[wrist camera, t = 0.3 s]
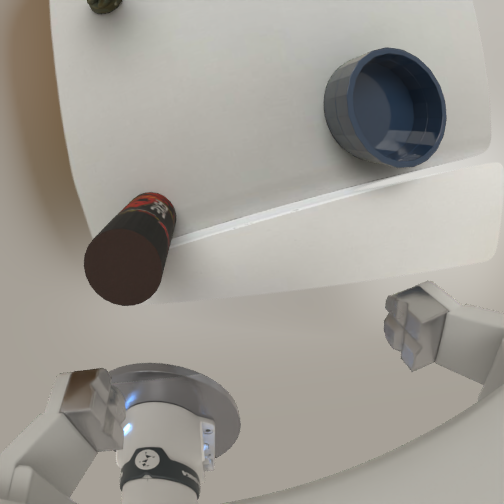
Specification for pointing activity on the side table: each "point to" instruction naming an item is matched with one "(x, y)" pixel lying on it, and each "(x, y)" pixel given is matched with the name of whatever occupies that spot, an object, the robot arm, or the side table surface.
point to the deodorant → (132, 251)
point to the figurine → (103, 5)
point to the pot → (386, 108)
